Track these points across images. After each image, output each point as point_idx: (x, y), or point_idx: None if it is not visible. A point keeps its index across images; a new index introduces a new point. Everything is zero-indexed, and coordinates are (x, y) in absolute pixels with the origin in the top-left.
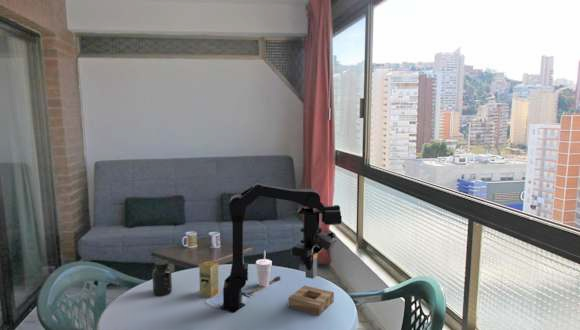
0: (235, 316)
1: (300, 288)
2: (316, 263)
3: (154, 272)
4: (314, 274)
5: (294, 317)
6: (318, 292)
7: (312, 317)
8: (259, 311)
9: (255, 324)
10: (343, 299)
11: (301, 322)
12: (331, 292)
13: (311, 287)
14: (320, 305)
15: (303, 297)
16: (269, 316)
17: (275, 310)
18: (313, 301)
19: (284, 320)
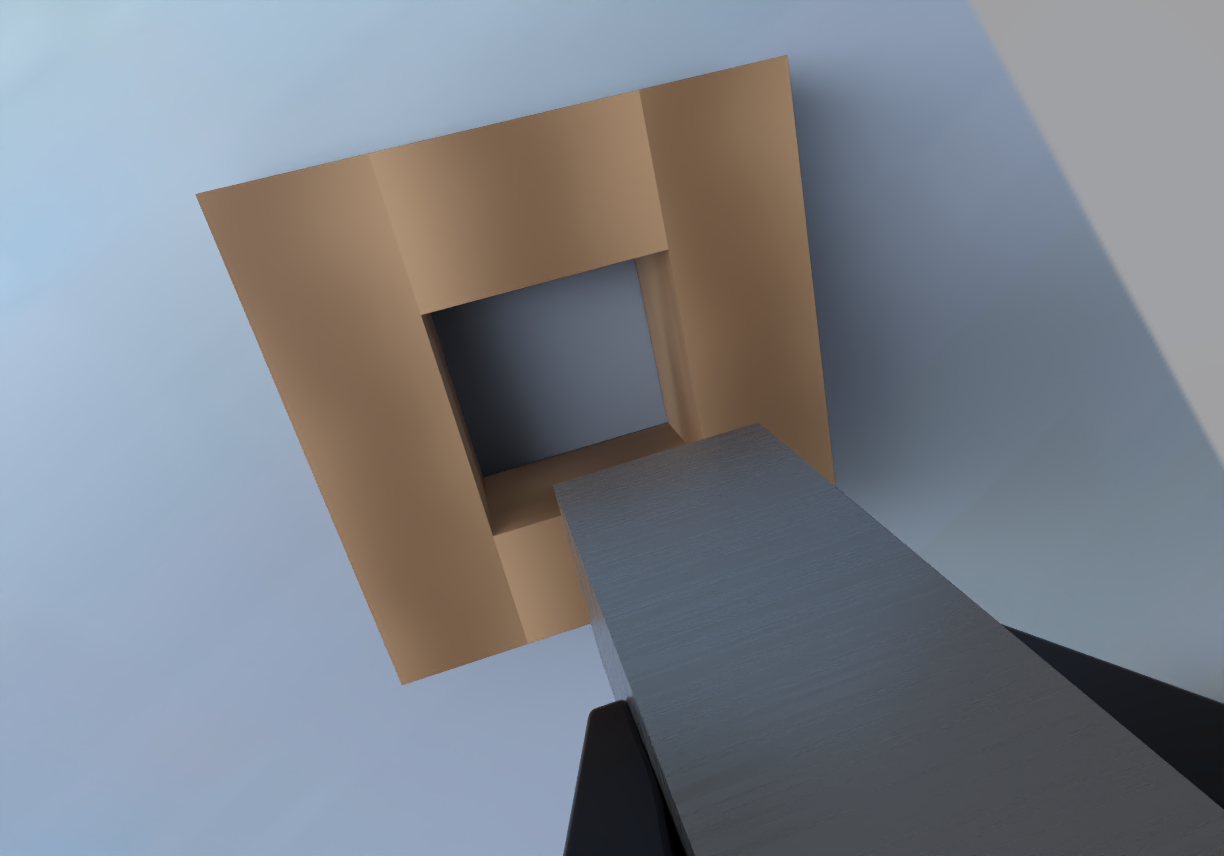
0: (1164, 638)
1: (530, 640)
2: (705, 720)
3: None
4: (725, 479)
5: (934, 271)
6: (432, 381)
7: (821, 106)
8: (1009, 590)
9: (1206, 434)
10: (32, 105)
11: (985, 129)
12: (244, 220)
13: (376, 575)
14: (745, 65)
15: (725, 416)
16: (1040, 462)
17: (918, 515)
18: (739, 220)
19: (1036, 302)
